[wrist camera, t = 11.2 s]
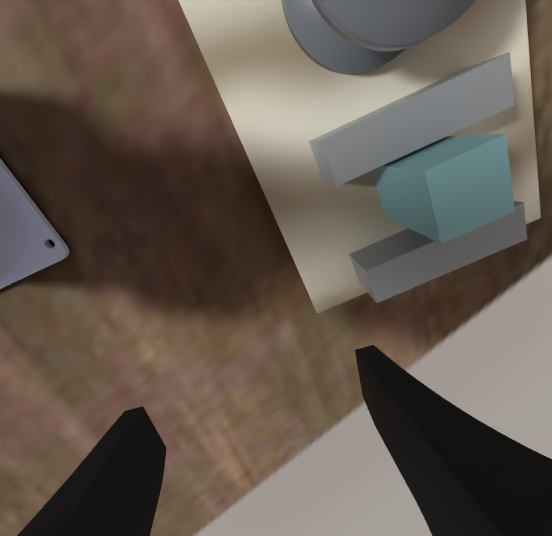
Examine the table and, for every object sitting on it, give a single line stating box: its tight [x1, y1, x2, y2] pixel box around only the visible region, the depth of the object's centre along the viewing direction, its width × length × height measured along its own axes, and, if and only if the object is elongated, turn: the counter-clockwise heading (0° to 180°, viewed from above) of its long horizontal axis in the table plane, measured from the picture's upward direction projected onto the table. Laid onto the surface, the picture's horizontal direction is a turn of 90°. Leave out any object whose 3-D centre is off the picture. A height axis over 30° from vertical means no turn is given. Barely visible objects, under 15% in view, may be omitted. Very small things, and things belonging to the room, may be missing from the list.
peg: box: [372, 134, 515, 244], centre depth 13 cm, size 3×3×5 cm
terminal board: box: [179, 0, 541, 314], centre depth 14 cm, size 26×14×2 cm, turn 23°
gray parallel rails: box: [309, 52, 527, 303], centre depth 15 cm, size 8×8×2 cm
